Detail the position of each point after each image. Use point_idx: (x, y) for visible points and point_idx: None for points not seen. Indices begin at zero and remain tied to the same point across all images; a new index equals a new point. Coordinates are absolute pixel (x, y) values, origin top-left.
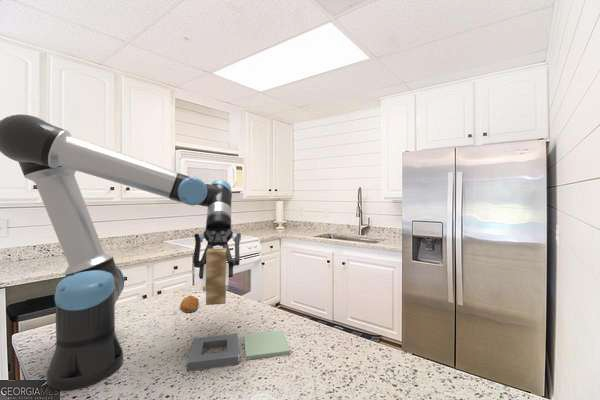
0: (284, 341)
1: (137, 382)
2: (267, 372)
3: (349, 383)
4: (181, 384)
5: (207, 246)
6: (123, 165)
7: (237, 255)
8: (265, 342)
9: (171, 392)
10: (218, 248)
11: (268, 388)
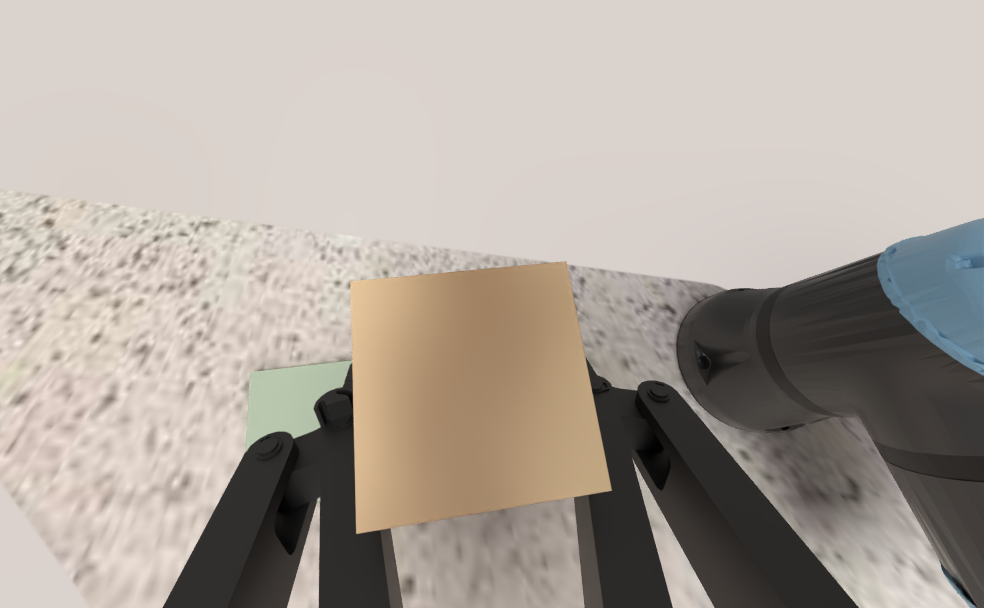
0: (255, 428)
1: (609, 303)
2: (331, 301)
3: (150, 241)
4: None
5: (652, 592)
6: None
7: (246, 492)
8: (318, 427)
9: (529, 264)
10: (470, 512)
11: (335, 250)
